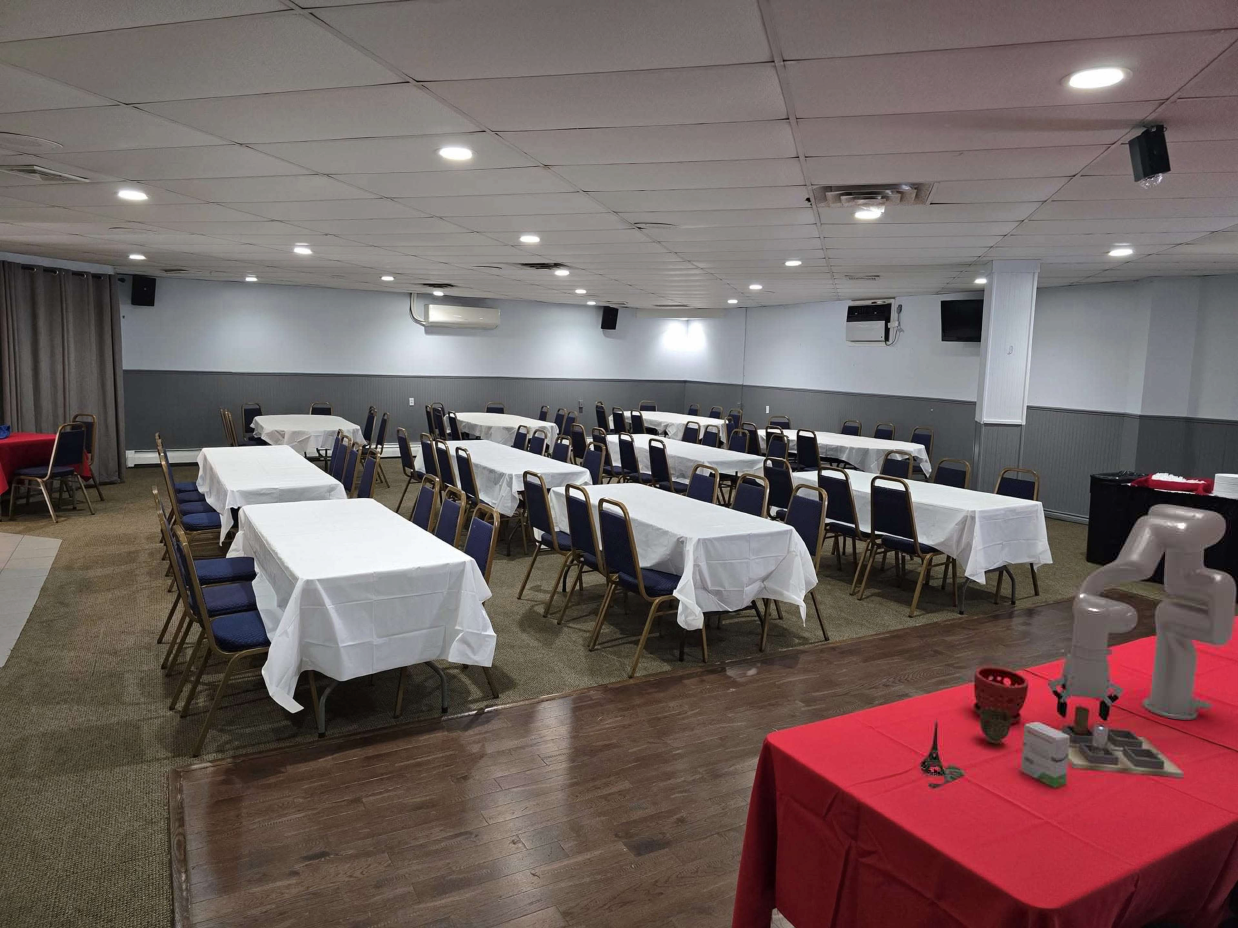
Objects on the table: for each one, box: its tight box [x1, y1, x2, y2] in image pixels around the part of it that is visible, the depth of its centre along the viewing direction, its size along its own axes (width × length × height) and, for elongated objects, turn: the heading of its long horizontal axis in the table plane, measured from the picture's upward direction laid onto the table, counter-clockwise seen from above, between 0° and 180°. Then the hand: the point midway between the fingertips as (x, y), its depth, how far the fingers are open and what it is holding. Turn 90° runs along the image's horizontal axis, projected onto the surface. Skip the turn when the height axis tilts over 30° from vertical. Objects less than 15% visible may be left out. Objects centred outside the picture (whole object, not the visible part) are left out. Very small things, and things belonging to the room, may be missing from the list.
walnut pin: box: [1073, 705, 1090, 736], centre depth 199 cm, size 3×3×8 cm
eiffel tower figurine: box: [919, 719, 966, 789], centre depth 183 cm, size 15×10×13 cm
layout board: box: [1056, 723, 1184, 779], centre depth 193 cm, size 24×18×9 cm
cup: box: [979, 707, 1012, 746], centre depth 198 cm, size 8×7×8 cm
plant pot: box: [973, 666, 1029, 724], centre depth 213 cm, size 13×13×12 cm
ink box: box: [1020, 721, 1070, 789], centre depth 181 cm, size 9×5×12 cm, turn 26°
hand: (1082, 716), depth 199 cm, fingers open, 9 cm apart
